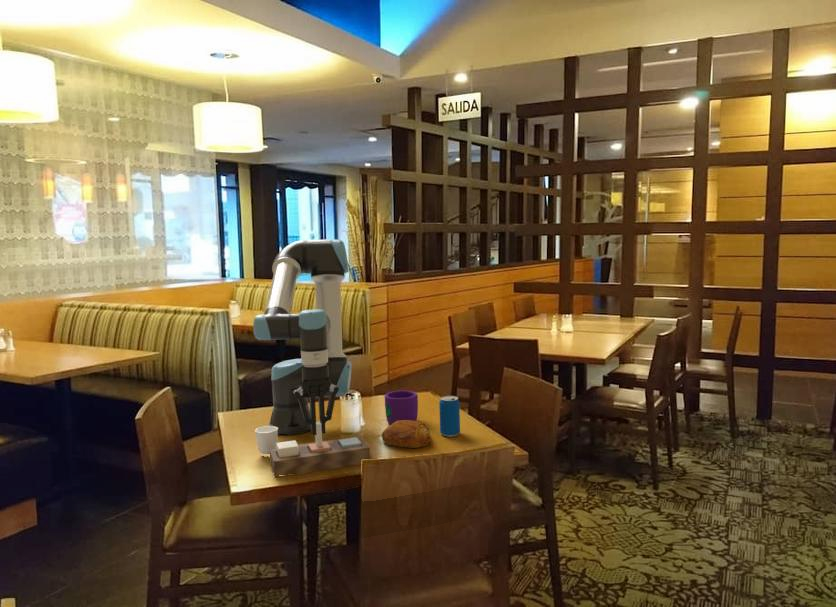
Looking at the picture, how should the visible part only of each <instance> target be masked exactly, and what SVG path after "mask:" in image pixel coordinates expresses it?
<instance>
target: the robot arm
mask: <svg viewBox="0 0 836 607" xmlns="http://www.w3.org/2000/svg"><path fill="white" fill-rule="evenodd" d="M271 269H272V270H271V271H272V273H273V276H272V279H271V280H272V281H271V284H270V288H269V292H268V293H269V294H268V297H267V301H266V304H265V309H264V314H263V313H262V314H257V315H256V316H254V318H253V334H254V337H255V339H257V340H258V341H275V340H276V341H278V340H280V341H281V340H299V339H300V356H301V357H300V358H294V359H293V358H292V359H287V360H283V361H281V362H280V361H279V362H278V363H276V364H274V365H273V366H272V368H271V379H270V381H271V391H272V392H271V393H272V404H273V408H272V412H271V416H270V419H269V423H268V424H269V425H268V426H275V427H278V434H294V435H298V434H297V433H300V434H303V433H302V432H304V433H306V432H305V431H308V430H310V431H311V434H312V436H314V438H315V442H316V445H317V447H321V446H323V445H322V441H323V434H326V423H327V422H328V421H331V420H332V418H333V412H334V407H335V401H336V397H337V398H338V397H343V396H342V395H345V394H347V395H348V393H349V391H350V387H351V386H350V385H351V378H352V367H353V366H352V362H351V361H348V357H347V355H346V354H345V353H344V352H343V332H342V331H343V330H342V329H343V328H342V326H343V325H342V293H341V292H342V291H341V290H342V289H341V283H342V282H343V281H344V280H345V279H346V278H345V277H346V276H345V275H346V274H347V273H350V270H349V261H348V254H347V250H346V245H345V243H344V241H343V240H341V239H332V238H327V239H308V240H307V239H306V240H305V239H301V240H297V241H293V242H291V243H289V244H288V245H286V246H285V247H283V248H282V249H281V250H280V251H279V252H278V253H277V254H276V256H275V258H274V260H273V262H272V268H271ZM303 274H304V275H310V279H311V280H312V281H313V282H314V283H315V308H313V309H305V310H301V311H300V312H298V313H291V309H292V304H293V299H294V294H295V288H296V284H297V279H299V277H300V276H301V275H303ZM345 396H346V395H345ZM316 398H317V399H318V400H317V401H318V412H319V414H318V417H319V421H317V412H316ZM325 398H328V401H327V406H326V410H325ZM308 432H309V431H308Z"/></svg>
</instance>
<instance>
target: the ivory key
mask: <svg viewBox="0 0 836 607" xmlns="http://www.w3.org/2000/svg"><path fill="white" fill-rule="evenodd" d="M298 445H299V444H298V443H297V441H296V439H295V440H289V441H288V440H287V441H279V442H277V443H276V448H277V457H278V458H281V457H288V456H295V455H299V450H298Z"/></svg>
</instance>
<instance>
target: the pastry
mask: <svg viewBox="0 0 836 607" xmlns="http://www.w3.org/2000/svg"><path fill="white" fill-rule="evenodd" d="M431 436H432V435H431V433H430V431H429V429H428V427H427V426H426V424H425V423H423V422H421V421H418V420H416V421H411V420H398V421H396V422H394V423H393V424H389V426H387V427H386V428H385V429H384V430H383V431H382V432H381V439H382V442H383V443H384V444H386V445H389V446H395V447H400V448H409V449H410V448H414V449H416V448H422V447H425V446H428V445H429V444H430V442H431V440H432V437H431Z"/></svg>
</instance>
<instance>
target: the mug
mask: <svg viewBox="0 0 836 607" xmlns="http://www.w3.org/2000/svg"><path fill="white" fill-rule="evenodd" d="M384 407H385V408H384V409H385V418H386V421H387V423H388V424H389V425H391V424H393V423H394V422H396V421H398V420H411V421H418V414H419V399H418V393H417V392H415V391H413V390H412V391H411V390H406V389H405V390H403V389H402V390H393V391H389V392H386V393H385V395H384Z"/></svg>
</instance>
